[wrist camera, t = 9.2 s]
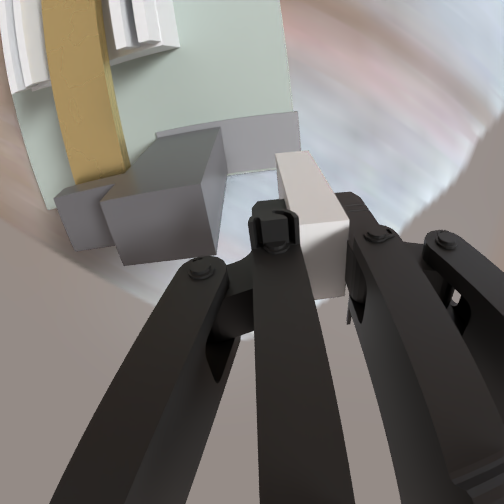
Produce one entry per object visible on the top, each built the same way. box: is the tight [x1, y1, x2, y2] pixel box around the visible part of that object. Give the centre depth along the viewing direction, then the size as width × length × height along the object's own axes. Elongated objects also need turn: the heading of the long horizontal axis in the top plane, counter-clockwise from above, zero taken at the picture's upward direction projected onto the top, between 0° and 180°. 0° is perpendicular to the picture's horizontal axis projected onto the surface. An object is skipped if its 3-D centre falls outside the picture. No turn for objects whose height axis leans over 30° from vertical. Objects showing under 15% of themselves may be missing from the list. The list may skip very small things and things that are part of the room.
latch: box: [53, 127, 228, 266], centre depth 16 cm, size 3×8×10 cm, turn 98°
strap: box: [41, 0, 131, 185], centre depth 11 cm, size 19×4×1 cm, turn 8°
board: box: [0, 0, 301, 210], centre depth 13 cm, size 22×20×8 cm
